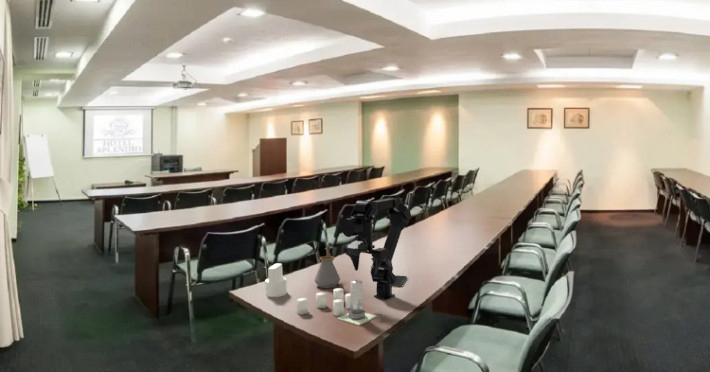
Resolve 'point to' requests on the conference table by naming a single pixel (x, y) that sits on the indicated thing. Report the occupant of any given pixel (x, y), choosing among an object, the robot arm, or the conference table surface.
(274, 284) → the cylinder with rectangular tab
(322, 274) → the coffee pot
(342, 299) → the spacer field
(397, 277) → the phone
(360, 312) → the silver cylinder
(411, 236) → the conference table surface
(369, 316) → the sage mat
